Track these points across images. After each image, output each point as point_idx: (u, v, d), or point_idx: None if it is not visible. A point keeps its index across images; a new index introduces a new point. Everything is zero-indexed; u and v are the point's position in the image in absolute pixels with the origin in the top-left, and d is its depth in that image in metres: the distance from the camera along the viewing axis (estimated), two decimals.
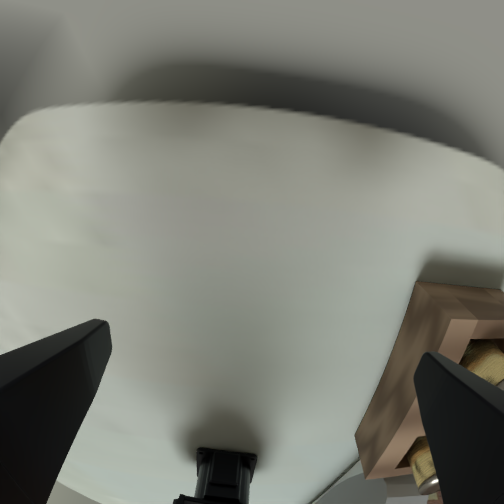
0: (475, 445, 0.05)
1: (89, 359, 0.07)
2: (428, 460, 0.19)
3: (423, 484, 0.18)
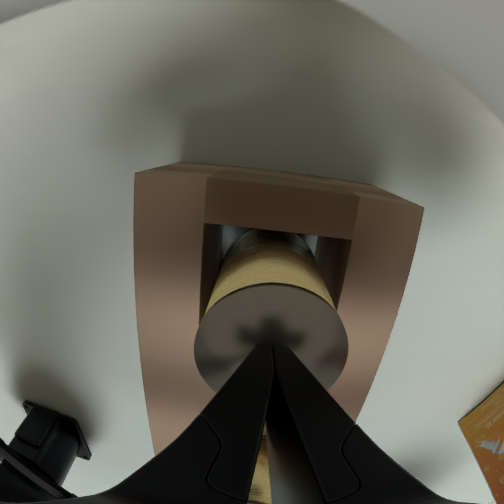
0: (286, 465, 0.05)
1: None
2: None
3: None
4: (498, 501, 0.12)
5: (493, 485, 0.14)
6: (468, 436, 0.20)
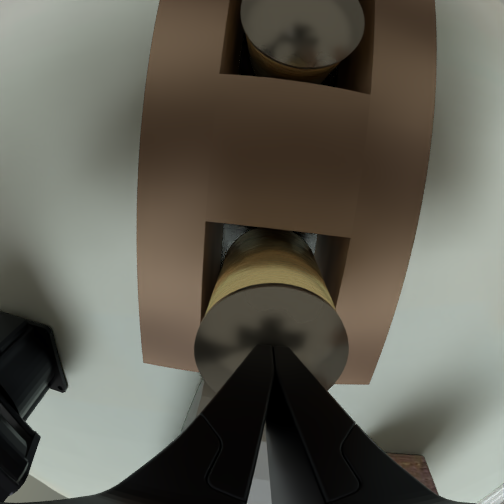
0: (286, 465, 0.05)
1: None
2: (227, 275, 0.10)
3: (196, 338, 0.08)
4: None
5: None
6: None
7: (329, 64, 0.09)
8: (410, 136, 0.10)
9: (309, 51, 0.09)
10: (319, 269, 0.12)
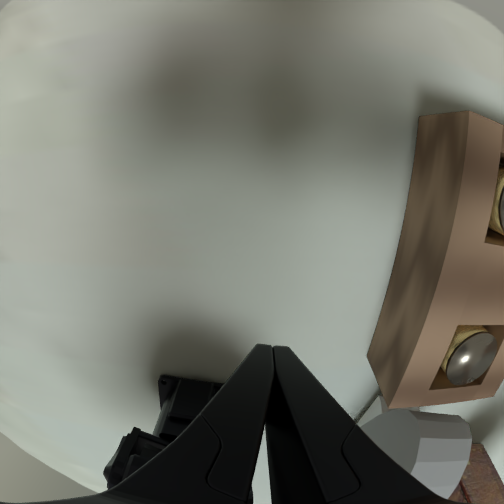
0: (286, 465, 0.05)
1: None
2: None
3: (452, 357, 0.16)
4: None
5: None
6: None
7: None
8: None
9: None
10: None
